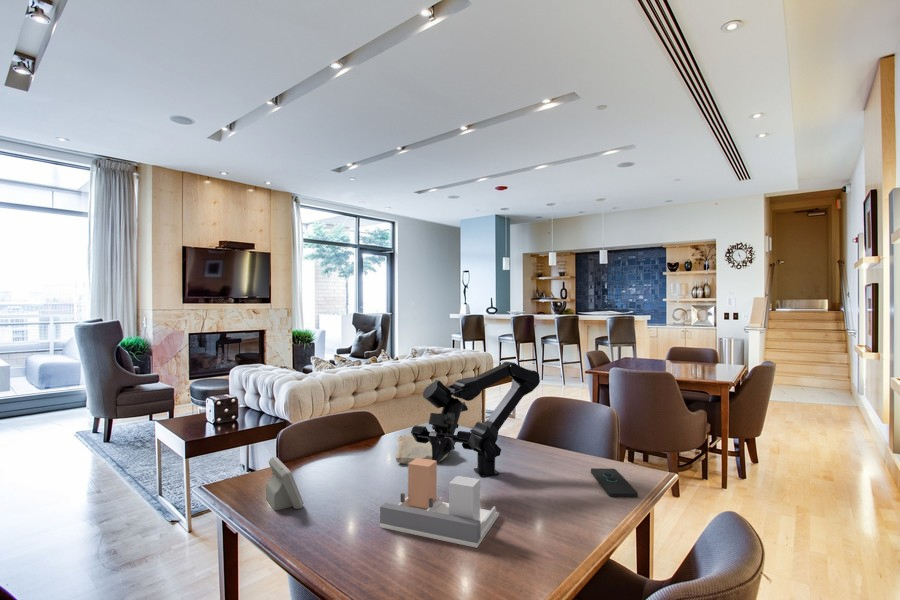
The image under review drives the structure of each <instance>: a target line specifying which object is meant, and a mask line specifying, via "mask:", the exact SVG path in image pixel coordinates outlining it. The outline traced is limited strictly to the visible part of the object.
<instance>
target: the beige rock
mask: <svg viewBox="0 0 900 600" xmlns="http://www.w3.org/2000/svg"><path fill="white" fill-rule="evenodd" d="M397 443H398V449H397V451H396V455H395V461H396V463H398V464H404V465H408V464H409V463H410V462H411V461H413V460H414V459H416V458H421V459H428V460H432V445H431V444H430V442H427V443H419V442H417V441H416V440H415V439H414V437H413V435H412V434H406V435H400V436H398V437H397ZM449 453H450V452H448V453H447V454H446V455H445V456H444V457H443V458H442V459H441V460H440V461H439V462H438V463H440V462H441V461H443V460H445V459H446V458H447V457H448V456H449Z"/></svg>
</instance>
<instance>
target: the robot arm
mask: <svg viewBox="0 0 900 600" xmlns="http://www.w3.org/2000/svg"><path fill="white" fill-rule="evenodd" d="M509 377H510V378H512V379H511V387H510V389H509V390H508V392H507V393H506V394H505V395H504V396H503V398H502V399H501V401H500V402H499V403H498V404H497V406H496V408H494V410H493V411H492V413H491V414H490V415H489V416H488V418H487V419H486V420H485V421H484V422H481V421H477V422H475V425H474V426H473V427H472V429H470V430H469V431H464V430H459V431H457V433H456V434H455V432H456V429H458V428H459V419H460V417H461V413H463V412H466V411H468V410H469V407H468V406H467V405H466V402H470V401H473V400H474V399H475V398H477V397H478V396H480V394H481V393H482V391H484V390H485V389H486V388H488V387H490V386H492V385H494V384H496V383H498V382H500V381H503V380H504V379H506V378H509ZM540 378H541V377H540V374H539V372H537V371H536V370H532V369H528V368H525V367H523V366H520V365H519V364H517V363H515V362H511V361H504V362H503V363H501V364H499V365H497V366H495V367H492V368H491V369H488V370H487V371H484V372H483V373H480V374H479V375H475V376H471V377H464V378H461V379H456V380H455V381H454V382H453V384H450V385H448V386H445V385H444V383H443V382H442V381H440V380H439V379H435V380H434V381H433V382H432V383H430V384H428V385H427V386H426V387H425V388H424V390H423V392H422V397H423V399H425V400H426V401H427V402H428V403H430V404H431V405H433V406H434V407H435V408H436V409H440V408H442V409H441V412H440V413H437V412H430V414H429V415H430V416H429V420H428V425H431V426H432V427H431V429H432V430H428V429H427V426H425V425H414V426H413V427H412V428H411V431H410V435H413V437H414V439H415V440H416V441H417V442H419V443H427V442H430V444H431V445H432V460H435V461H437V464H438V463H440V462H441V461H442V460H441V459H442V458H443V457H444V456H445V455H446V454H447V453H448V452H449V453H451V451H452V450H453V451H454V450H455V449H456V447H455V446H456V443H461V446H462V448H463V449H464V450H470V451H473V452H475V453H476V454H477V458H476V459H477V462H476V463H477V467H475V468H473V471H474V472H475V473H476V474H477V476H479V477H482V478H483V477H489V476H499V475H500V472H499V471H498V470H497V469H496V458H497V457H500V455H501V453H502V448H501V447H500V446H499V445H497V443H496V442H497V441H498V438H499V437H498V436H499V431H500V430H501V428H502V427H503V425H504V424H505V422H506V421H507V420H508V418H509V417H510V415H511V413H512V412H513V411H514V410H515V408H516V407H517V406H518V404H519V403H520V401H521V400H522V399H523V397H525V396H526V395H528V394H530V393H532V392H533V391H534V390H535V389H536V388H538V386H539V385H540V383H541V379H540ZM454 397H455V398H454ZM460 399H461V400H460ZM462 400H464V401H466V402H462ZM449 453H448V454H449ZM440 460H441V461H440ZM439 461H440V462H439Z"/></svg>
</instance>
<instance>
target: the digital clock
mask: <svg viewBox="0 0 900 600" xmlns="http://www.w3.org/2000/svg"><path fill="white" fill-rule="evenodd" d="M268 465H269V467H270V469H271V471H272V473H271V478H270V480H269V481H267V483H265V499H266V501H267V503H269V505H270V506H271V509H273V511H280V510H283V509H288V508H292V507H293V508H294V509H295V510H300V509H302V508H303V505H305V504H304V501H303V499H302V496H301V494H300V491H299V488H298V486H297V483H296V481H295V478H294V476H293V474H292V473H293V472H291V470H290V469H289V468H288V467H287V466H286V465H285V464H284V463H283V462H282V461H281V460H280V459H279V458H278V456H277V457H275V456H273V457H271V458H270V459H269V460H268Z"/></svg>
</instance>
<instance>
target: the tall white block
mask: <svg viewBox="0 0 900 600" xmlns="http://www.w3.org/2000/svg"><path fill="white" fill-rule="evenodd" d="M448 483H449V484H448V503H449V515H453V516H458V517H464V518H469V519H474V520H479V521H480V509H481V479H480V478H474V477H473V478H472V477H468V476H461V475H455V477H454V478H452V480H451V481H450V482H448Z"/></svg>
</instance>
